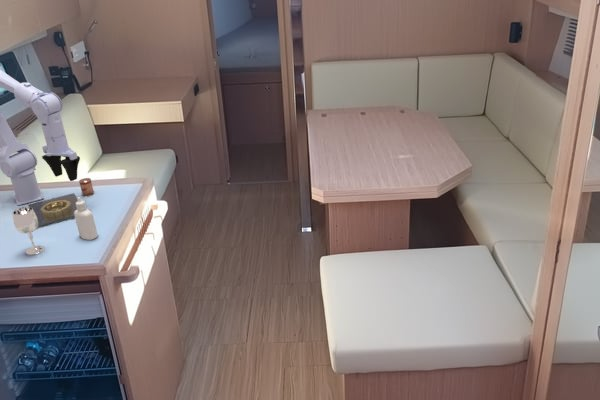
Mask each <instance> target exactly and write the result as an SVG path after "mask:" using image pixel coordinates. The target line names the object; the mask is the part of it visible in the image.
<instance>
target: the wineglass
mask: <svg viewBox="0 0 600 400" xmlns="http://www.w3.org/2000/svg"><path fill="white" fill-rule="evenodd" d="M12 220H13V225H14V228H15V229H16V231H17V232H19V233H20V234H28V239H29V240H30V241H31V246H32V247H30V248H28V249H27V250H26V251H25V253H26V255H30V256H31V255H38V254H40V253H41V252H43V251H44V250H45V248H44V246H42V245H35V243H34V239H33V237H34V236H33V232H36V230H37V229H38V228H37V227H38V225H39V222H38V218H37V215H36V214H35V212H34V210H33V209H32V208H31V207H29V206H22V207H20V208H17V209H15V210H14V211H13V212H12Z"/></svg>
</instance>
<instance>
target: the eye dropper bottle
mask: <svg viewBox="0 0 600 400" xmlns="http://www.w3.org/2000/svg"><path fill="white" fill-rule="evenodd" d="M77 199H78V202H76V207H77V210H76V211H75V212H74V216H75V218H74V219H75V223H76V227H77V230H78V234H79V236H80V238H81V239H83V240H87V241H88V240H89V241H90V240H91V241H92V240H95V239H96V238H97V237H98V236H99V234H98V231H97V226H96V222H95V219H94V215H93V212H92V211H91V210H90V209H89V208H87V205H86V201H85V200H83V199H82V198H81V197H80V196H78V197H77Z"/></svg>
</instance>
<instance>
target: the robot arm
mask: <svg viewBox="0 0 600 400" xmlns="http://www.w3.org/2000/svg"><path fill="white" fill-rule="evenodd" d="M0 88H2V89H4V90H6V91H8V92H10V93H12V94H13V95H14V98H15V99H16V100H17V101H19V102H20V103H22V104H24V105H25V106H28V107H29V108H31V110H32V112H33V114H34V115H35V116H36V118H37V121H38V123H40V125H41V129H42V133H43V136H44V139H45V144H46V145H44V146H42V148H41V149H42V151H43V153H44V155H42V156H41V159H43V160H44V161H45V162H46V164H47V165H48V166H49V169H51V171H52V173H53V175H54V177H56V178H57V177H59V176H63V169H64V170H65V172H66V175H67V178H68V179H69V181H70V182H74V181H76V180H78V168H79V167H78V166H79V163H80V160H81V158H80V156H79V155H78V154H77V152H76V151H74V150H73V149H72V148H71V147H70V146H69V144H68V138H67V135H66V131H65V128H64V124H63V120H62V116H61V111H62V110H63V103H62V100H61V98H60V97H59V95H57V94H56V93H55V92H49V93H48V92H44V91H42V90H40V89H38V88H37V87H35V86H33V85H32V83H30V82H28V81H27V82H19V81H18V80H16V79H15V78H14V77H12V76H10V74H7V73H6V72H4V71H3V69H2V67H1V66H0ZM11 154H13V155H11ZM62 157H64V159H62ZM37 165H38V159H37V156H36V154H35V153H34V152H33V150H31V149H30V147H29V146H28V144H26V143H23V142H20V141H18V139H17V138H16V136H15V134H14V132H13V131H12V129H11V127H10V126H9V124H8V121H7V120H6V118H5V116H4V114H3V112H2V111H1V110H0V170H1V172H2V174H3V175H5V176H6V177H8V178H10V183H11V185H12V188H13V191H14V199H15V202H16V205H17V206H21V205H25V204H31V203H33V202H34V203H35V202H39V201H43V199H45V198H44V196H43V193H42V190H41V188H40V187H39V183H38V181H37V180H38V179H37V176H36V172H35V171H36V170H37V169H36V166H37Z"/></svg>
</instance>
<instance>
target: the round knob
mask: <svg viewBox="0 0 600 400" xmlns="http://www.w3.org/2000/svg"><path fill="white" fill-rule="evenodd" d="M78 182H79V186H80V189H81V194H82V197H85V196H87V197H92V196H93V195H94V194H95V191H94V186H93V183H92V179H91V177H84V178H81V179H79V180H78Z"/></svg>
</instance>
